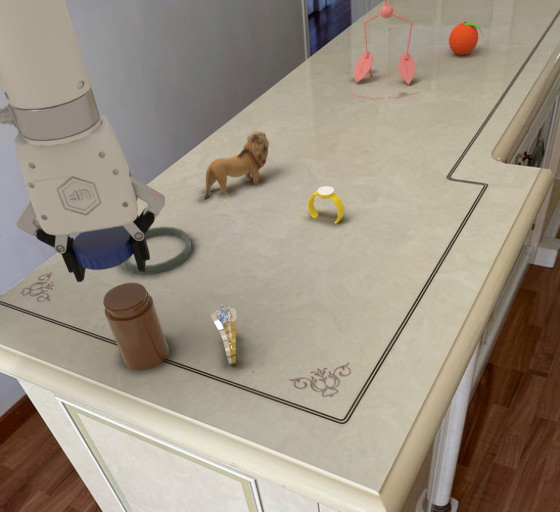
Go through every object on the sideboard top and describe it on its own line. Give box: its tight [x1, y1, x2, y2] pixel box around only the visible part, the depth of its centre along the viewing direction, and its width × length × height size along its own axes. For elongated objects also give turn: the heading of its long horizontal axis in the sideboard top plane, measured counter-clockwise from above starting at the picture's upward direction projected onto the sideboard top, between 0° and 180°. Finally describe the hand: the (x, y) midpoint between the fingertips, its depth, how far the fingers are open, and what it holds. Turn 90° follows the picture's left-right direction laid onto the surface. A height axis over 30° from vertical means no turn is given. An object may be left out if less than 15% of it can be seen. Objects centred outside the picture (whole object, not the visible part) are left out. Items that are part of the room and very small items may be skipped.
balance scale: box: [345, 0, 419, 100], centre depth 124 cm, size 15×26×35 cm, turn 65°
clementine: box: [448, 21, 483, 56], centre depth 143 cm, size 8×7×7 cm
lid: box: [72, 226, 134, 271], centre depth 66 cm, size 7×7×2 cm
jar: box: [103, 282, 170, 371], centre depth 74 cm, size 6×6×11 cm
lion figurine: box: [203, 130, 270, 201], centre depth 105 cm, size 15×5×9 cm, turn 125°
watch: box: [307, 185, 345, 225], centre depth 95 cm, size 6×3×6 cm, turn 57°
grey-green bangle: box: [121, 226, 192, 276], centre depth 94 cm, size 11×11×2 cm
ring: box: [210, 303, 238, 365], centre depth 74 cm, size 7×3×8 cm, turn 5°
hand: (112, 268), depth 68 cm, fingers closed on lid, 6 cm apart
